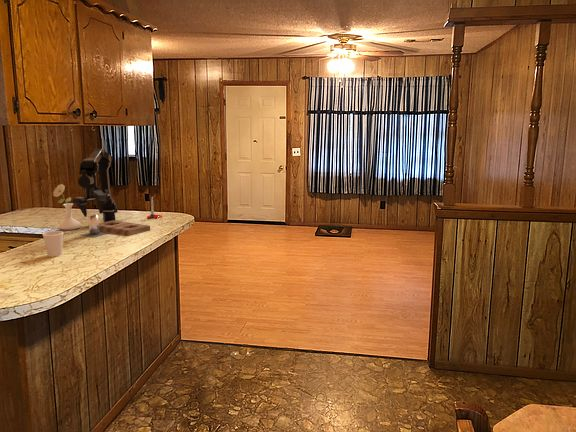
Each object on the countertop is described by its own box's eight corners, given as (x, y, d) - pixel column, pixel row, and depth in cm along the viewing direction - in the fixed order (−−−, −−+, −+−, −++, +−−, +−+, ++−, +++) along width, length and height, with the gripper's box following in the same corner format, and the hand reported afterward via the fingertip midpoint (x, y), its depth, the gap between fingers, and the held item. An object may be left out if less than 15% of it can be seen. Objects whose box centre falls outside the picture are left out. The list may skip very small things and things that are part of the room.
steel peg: (87, 234, 248) (86, 215, 246) (95, 232, 252) (93, 213, 250) (93, 235, 246) (92, 216, 244) (101, 233, 250) (100, 214, 248)
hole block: (92, 230, 260) (92, 224, 259) (113, 225, 272) (113, 220, 271) (130, 236, 246) (129, 230, 246) (150, 231, 258) (150, 225, 258)
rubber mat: (78, 236, 247) (78, 235, 247) (96, 231, 256) (96, 230, 256) (93, 238, 241) (93, 237, 241) (110, 234, 251) (110, 233, 251)
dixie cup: (59, 251, 218) (57, 229, 216) (68, 254, 213) (67, 232, 211) (40, 255, 212) (38, 233, 210) (49, 258, 206) (47, 236, 204)
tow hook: (151, 216, 300) (145, 218, 291) (151, 195, 298) (144, 197, 289) (164, 216, 299) (158, 219, 290) (164, 196, 297) (158, 197, 288)
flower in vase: (74, 226, 270) (70, 181, 265) (86, 228, 264) (82, 183, 259) (51, 230, 260) (47, 183, 255) (63, 233, 253) (59, 185, 248)
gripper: (85, 188, 232) (88, 220, 235) (116, 183, 248) (118, 213, 251) (70, 186, 237) (73, 217, 240) (101, 182, 253) (104, 211, 256)
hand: (93, 215), depth 247 cm, fingers open, 9 cm apart
